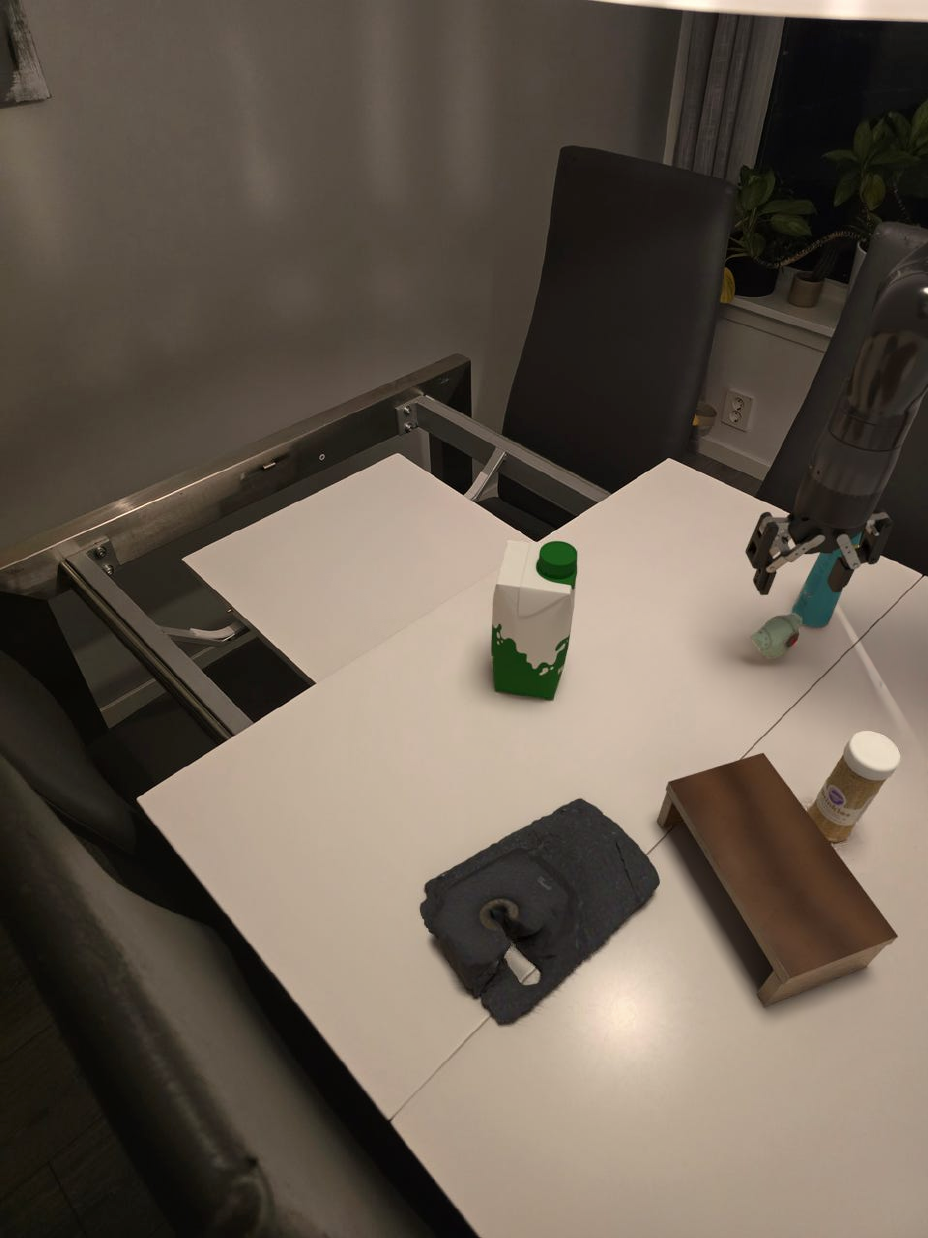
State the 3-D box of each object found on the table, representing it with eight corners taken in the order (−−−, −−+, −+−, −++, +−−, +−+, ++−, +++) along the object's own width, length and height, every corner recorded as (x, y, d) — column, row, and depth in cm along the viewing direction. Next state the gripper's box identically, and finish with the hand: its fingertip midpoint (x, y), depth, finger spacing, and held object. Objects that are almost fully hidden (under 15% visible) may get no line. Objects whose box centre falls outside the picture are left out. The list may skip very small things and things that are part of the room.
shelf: (745, 790, 85) (763, 752, 80) (868, 968, 72) (898, 936, 67) (655, 818, 82) (668, 781, 77) (765, 1009, 69) (788, 979, 64)
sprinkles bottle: (797, 823, 82) (840, 747, 73) (819, 797, 84) (864, 720, 75) (837, 852, 80) (888, 778, 70) (859, 825, 82) (911, 749, 72)
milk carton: (559, 708, 93) (576, 583, 79) (484, 695, 94) (488, 571, 80) (567, 654, 99) (585, 530, 85) (497, 644, 100) (503, 519, 86)
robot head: (780, 635, 101) (795, 597, 97) (804, 655, 99) (822, 617, 94) (735, 659, 98) (749, 621, 94) (759, 680, 96) (775, 642, 91)
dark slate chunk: (681, 907, 76) (691, 884, 72) (492, 1039, 67) (493, 1020, 64) (583, 791, 85) (588, 766, 81) (405, 895, 76) (402, 872, 73)
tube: (833, 637, 101) (890, 518, 88) (794, 632, 102) (845, 514, 88) (825, 598, 106) (878, 481, 93) (788, 594, 107) (835, 476, 93)
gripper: (792, 495, 76) (747, 614, 87) (934, 490, 76) (871, 609, 88) (766, 451, 81) (726, 569, 92) (899, 448, 82) (843, 565, 93)
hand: (797, 588), depth 90 cm, fingers open, 8 cm apart
